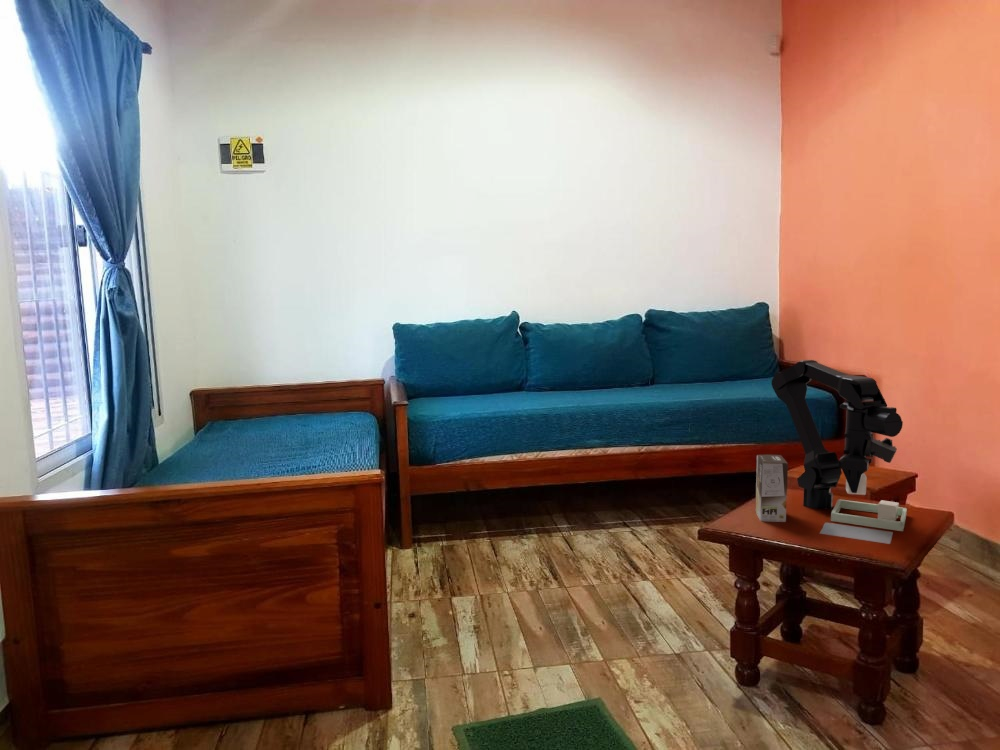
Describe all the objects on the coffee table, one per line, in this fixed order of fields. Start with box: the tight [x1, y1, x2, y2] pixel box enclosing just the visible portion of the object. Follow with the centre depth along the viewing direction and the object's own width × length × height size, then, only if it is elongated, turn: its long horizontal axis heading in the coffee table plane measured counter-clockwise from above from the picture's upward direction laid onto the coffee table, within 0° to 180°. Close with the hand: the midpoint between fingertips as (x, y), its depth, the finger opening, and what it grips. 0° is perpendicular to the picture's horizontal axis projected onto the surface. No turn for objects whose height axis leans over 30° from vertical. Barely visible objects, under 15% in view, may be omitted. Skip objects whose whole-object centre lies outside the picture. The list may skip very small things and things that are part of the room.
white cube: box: [845, 472, 868, 496], centre depth 188 cm, size 4×4×4 cm
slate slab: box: [819, 521, 894, 545], centre depth 180 cm, size 15×9×1 cm, turn 59°
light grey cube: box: [877, 499, 900, 521], centre depth 190 cm, size 4×4×4 cm
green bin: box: [830, 498, 908, 532], centre depth 191 cm, size 16×13×3 cm
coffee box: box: [755, 454, 789, 523], centre depth 193 cm, size 9×6×16 cm
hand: (855, 490), depth 188 cm, fingers closed on white cube, 5 cm apart
